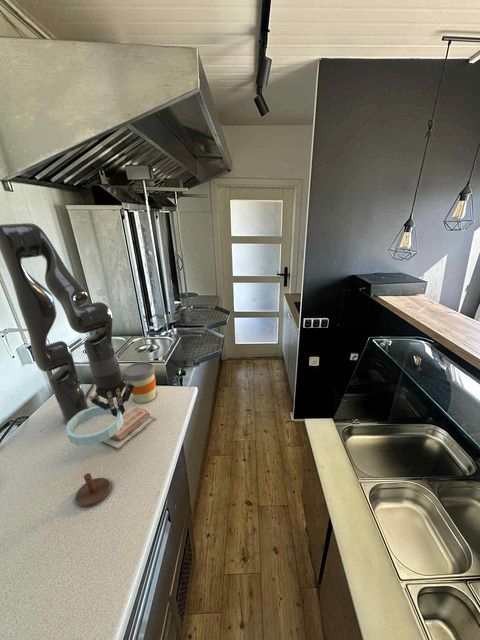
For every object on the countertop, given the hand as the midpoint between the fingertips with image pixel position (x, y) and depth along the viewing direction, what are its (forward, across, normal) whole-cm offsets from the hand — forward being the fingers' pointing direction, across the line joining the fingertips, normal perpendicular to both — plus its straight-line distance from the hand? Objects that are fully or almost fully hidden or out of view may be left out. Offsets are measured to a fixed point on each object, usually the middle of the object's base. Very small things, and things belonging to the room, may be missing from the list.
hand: (118, 414), depth 94 cm
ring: (+1, +7, 0) cm, 7 cm away
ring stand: (+17, +14, +9) cm, 24 cm away
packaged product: (+17, -4, -12) cm, 21 cm away
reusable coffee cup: (+17, -17, -29) cm, 38 cm away
